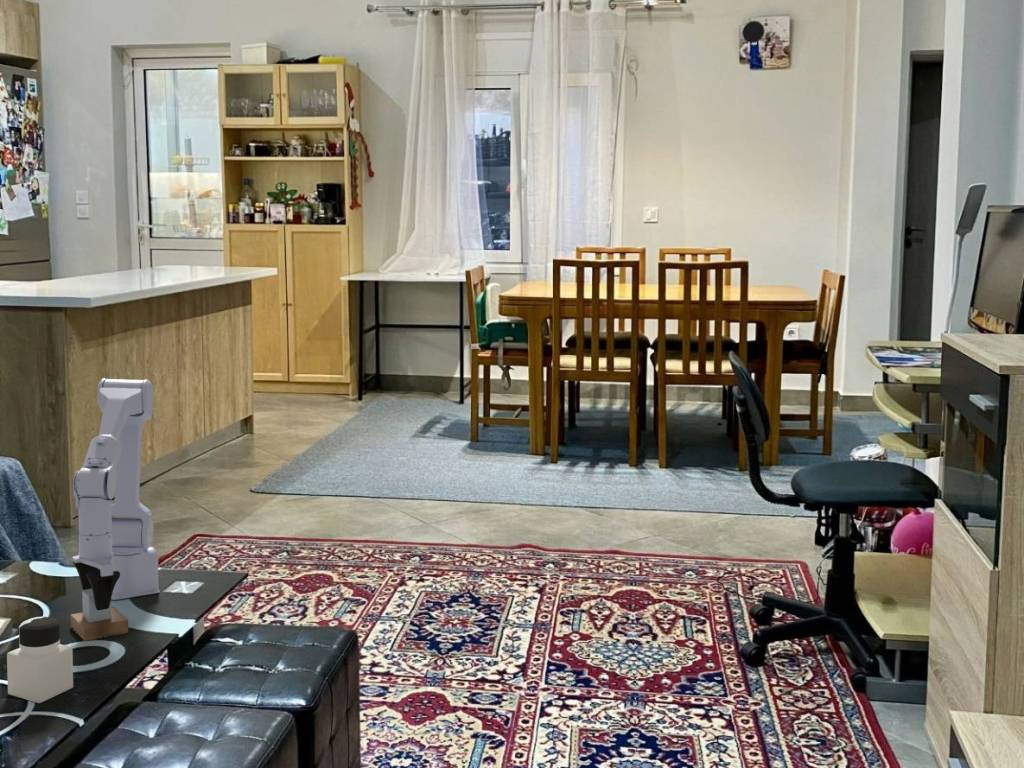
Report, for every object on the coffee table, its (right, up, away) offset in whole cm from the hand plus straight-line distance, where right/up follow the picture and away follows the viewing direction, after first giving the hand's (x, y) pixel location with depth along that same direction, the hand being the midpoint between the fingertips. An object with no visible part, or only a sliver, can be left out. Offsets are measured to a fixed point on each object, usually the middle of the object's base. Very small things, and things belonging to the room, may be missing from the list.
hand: (96, 602), depth 206 cm
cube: (0, -3, +1) cm, 3 cm away
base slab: (0, -6, +1) cm, 6 cm away
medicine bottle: (0, -10, -25) cm, 27 cm away
